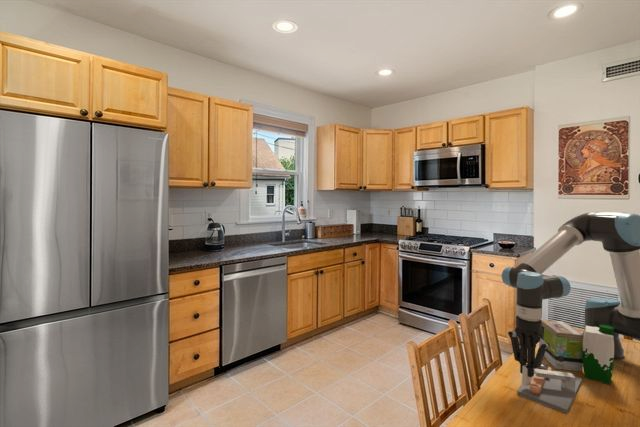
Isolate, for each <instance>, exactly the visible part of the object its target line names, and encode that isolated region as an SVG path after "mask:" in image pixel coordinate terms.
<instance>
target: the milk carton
mask: <svg viewBox="0 0 640 427" xmlns="http://www.w3.org/2000/svg"><path fill="white" fill-rule="evenodd" d="M584 327H585V326H584ZM583 332H584V331H583ZM582 363H583V373H584V378H585V379H586V380H591V381H595V382H599V383H602V384H606V385H609V386H610V385H611V381H612V377H613V374H614V367H615V366H614V363H615V359H614V328H613V327H611V326H608V325H600V326H599V328H598V327H591V326H586V327H585V332H584V337H583V349H582Z"/></svg>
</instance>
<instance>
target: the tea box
mask: <svg viewBox="0 0 640 427" xmlns="http://www.w3.org/2000/svg"><path fill="white" fill-rule="evenodd" d="M540 320H541V321H542V327H541V336H542V340H543V341H544V342H545V343H549V345H550V346H549V347H548V348H547V349H546V351H545V354H544V357H543V358H544V359H545V360H546V361H548V362H549V363H550V364H551V366H553V368H554V369H555V370H556V369H557V370H563V371H564V370H565V371H567V370H568V371H575V372H577V371H578V372H583V371H584V369H583V363H582V349H583V337H584V335H583V332H581V331H579V330H577V329H576V328H574V327H573V326H572V325H570V324H569V323H567V322H566V321H562V320H561V321H559V320H549V319H548V320H546V319H540Z"/></svg>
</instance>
